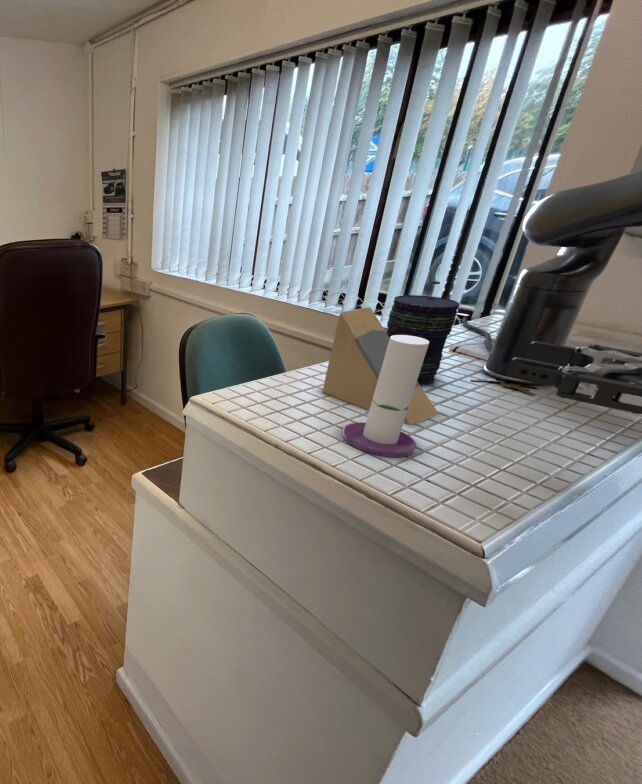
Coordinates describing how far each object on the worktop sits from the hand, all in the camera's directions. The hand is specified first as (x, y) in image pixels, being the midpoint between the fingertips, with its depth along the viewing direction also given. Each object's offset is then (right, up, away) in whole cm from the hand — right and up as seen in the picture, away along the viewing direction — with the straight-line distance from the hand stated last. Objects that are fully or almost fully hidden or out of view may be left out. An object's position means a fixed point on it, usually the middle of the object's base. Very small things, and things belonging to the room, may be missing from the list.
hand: (518, 357), depth 53 cm
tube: (-6, -11, +14) cm, 19 cm away
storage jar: (+15, -1, +37) cm, 40 cm away
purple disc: (-6, -11, +15) cm, 20 cm away
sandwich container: (+2, -6, +27) cm, 27 cm away
